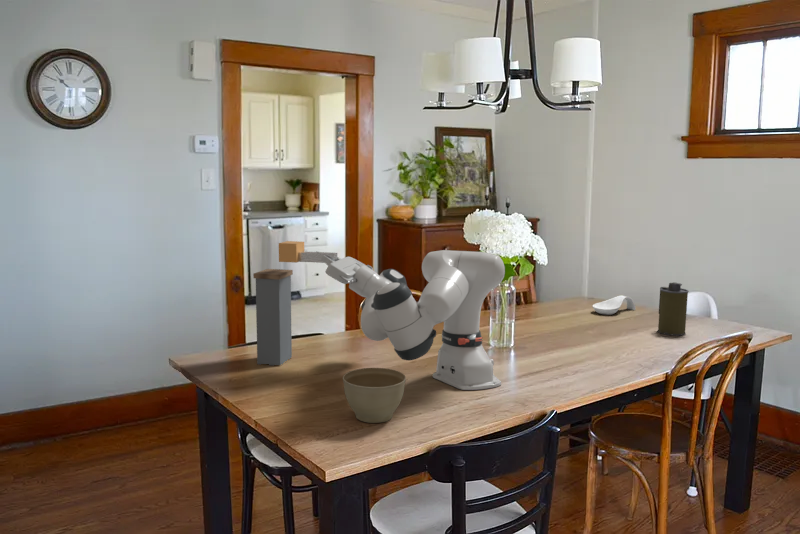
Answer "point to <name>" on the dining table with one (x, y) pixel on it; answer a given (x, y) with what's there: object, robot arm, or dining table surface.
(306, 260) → the bar
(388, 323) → the robot arm
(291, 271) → the cabinet stand
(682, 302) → the canister
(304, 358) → the dining table surface
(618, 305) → the spoon rest
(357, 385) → the planter bowl
